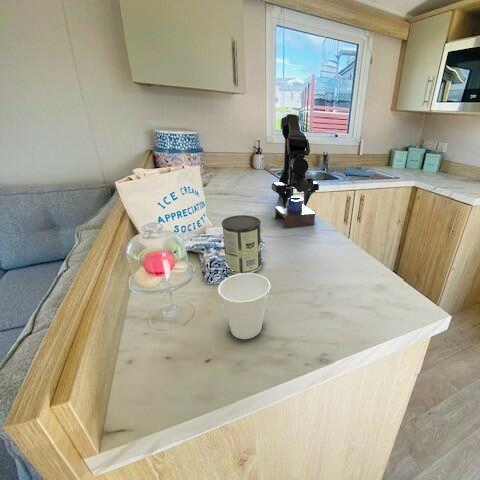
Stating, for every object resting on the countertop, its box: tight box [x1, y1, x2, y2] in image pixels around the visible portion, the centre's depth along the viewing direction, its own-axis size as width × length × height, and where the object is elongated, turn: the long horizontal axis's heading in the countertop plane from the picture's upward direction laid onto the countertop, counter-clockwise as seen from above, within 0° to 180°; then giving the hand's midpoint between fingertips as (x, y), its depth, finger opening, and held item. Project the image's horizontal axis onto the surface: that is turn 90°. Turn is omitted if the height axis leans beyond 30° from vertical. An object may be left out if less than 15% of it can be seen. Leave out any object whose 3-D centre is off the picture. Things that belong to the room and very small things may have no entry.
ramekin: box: [286, 195, 304, 213], centre depth 114 cm, size 6×6×5 cm
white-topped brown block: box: [274, 204, 316, 229], centre depth 116 cm, size 13×12×5 cm
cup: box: [217, 272, 272, 340], centre depth 55 cm, size 10×10×11 cm
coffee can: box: [221, 214, 262, 275], centre depth 78 cm, size 10×10×14 cm
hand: (295, 206), depth 114 cm, fingers open, 9 cm apart
